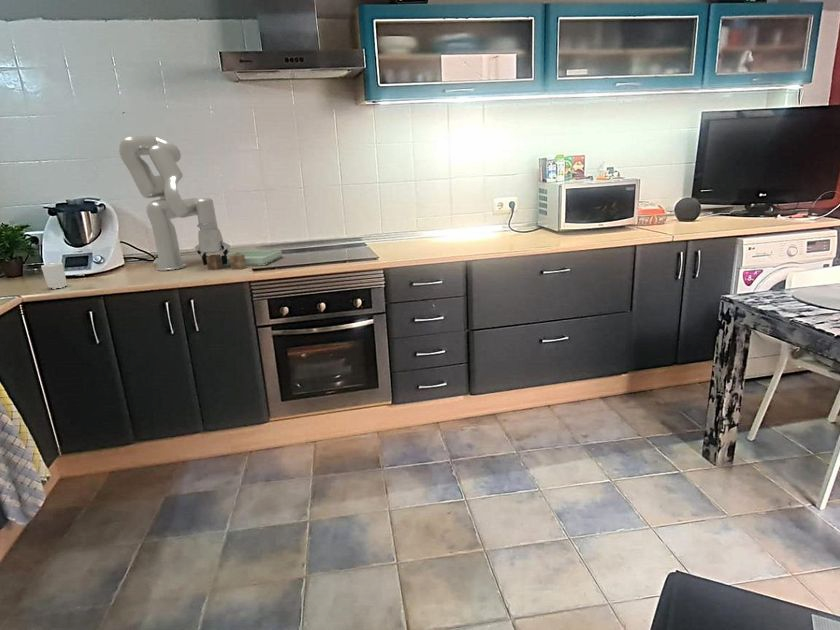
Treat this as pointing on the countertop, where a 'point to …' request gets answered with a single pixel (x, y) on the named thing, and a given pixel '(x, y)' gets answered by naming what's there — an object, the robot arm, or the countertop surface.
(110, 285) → the countertop surface
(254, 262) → the tray
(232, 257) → the oak block
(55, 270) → the white cup
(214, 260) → the walnut block
